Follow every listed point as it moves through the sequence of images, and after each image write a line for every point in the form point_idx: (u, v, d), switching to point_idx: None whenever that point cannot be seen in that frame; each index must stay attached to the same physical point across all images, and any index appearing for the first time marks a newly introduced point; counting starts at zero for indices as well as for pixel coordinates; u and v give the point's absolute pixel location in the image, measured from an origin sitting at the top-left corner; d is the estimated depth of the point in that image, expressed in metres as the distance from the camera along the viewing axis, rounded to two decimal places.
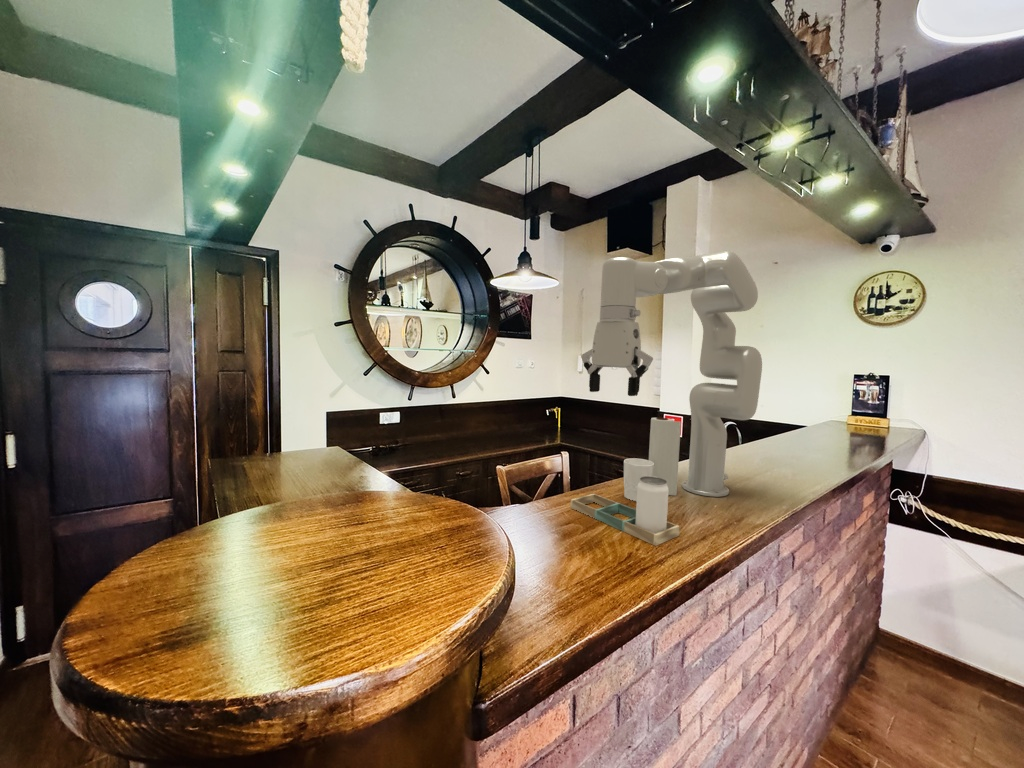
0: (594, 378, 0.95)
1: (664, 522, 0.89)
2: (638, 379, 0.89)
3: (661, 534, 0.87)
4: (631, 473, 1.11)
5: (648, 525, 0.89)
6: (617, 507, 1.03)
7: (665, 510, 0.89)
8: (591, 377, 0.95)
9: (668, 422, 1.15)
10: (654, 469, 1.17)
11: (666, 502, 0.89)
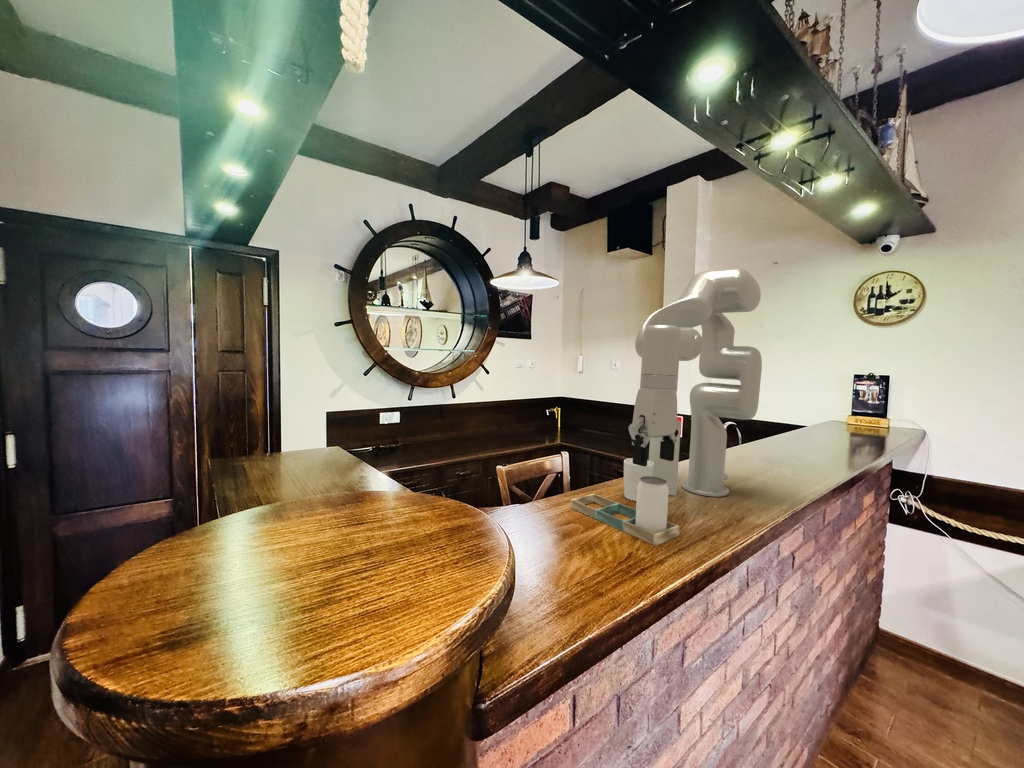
0: None
1: (664, 522, 0.89)
2: None
3: (661, 534, 0.87)
4: (631, 473, 1.11)
5: (648, 525, 0.89)
6: (617, 507, 1.03)
7: (665, 510, 0.89)
8: (647, 450, 0.86)
9: None
10: (654, 469, 1.17)
11: (666, 502, 0.89)
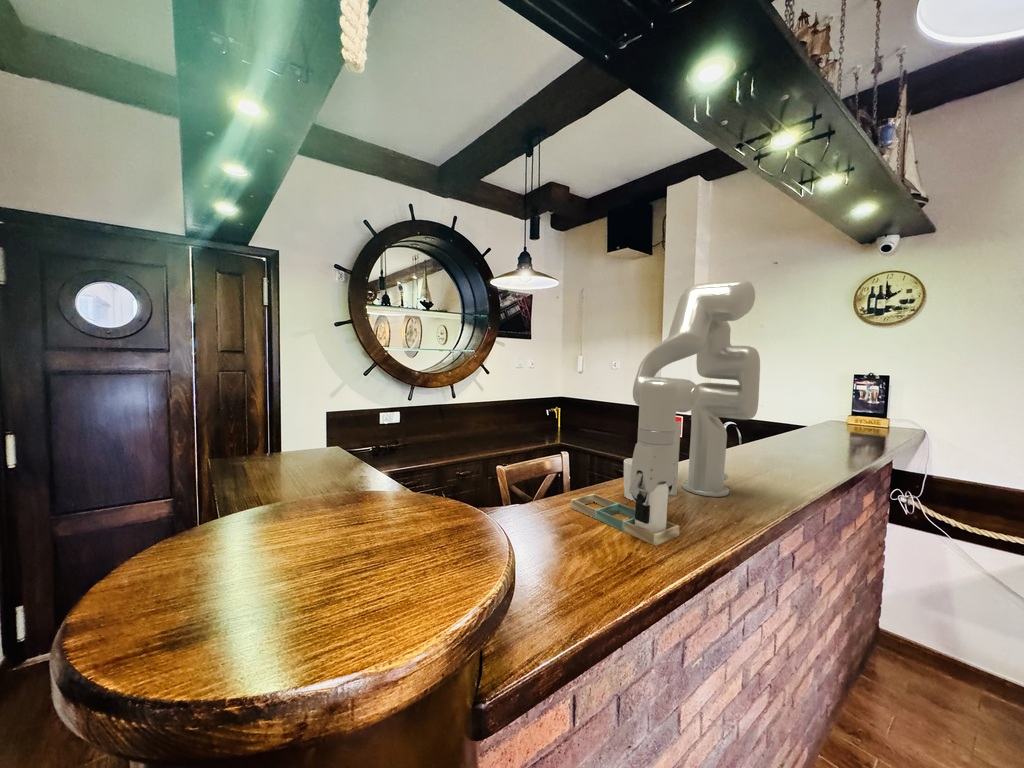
0: None
1: (664, 522, 0.89)
2: None
3: (661, 534, 0.87)
4: None
5: (647, 525, 0.89)
6: (617, 507, 1.03)
7: (665, 510, 0.89)
8: (649, 508, 0.88)
9: None
10: None
11: (666, 502, 0.89)
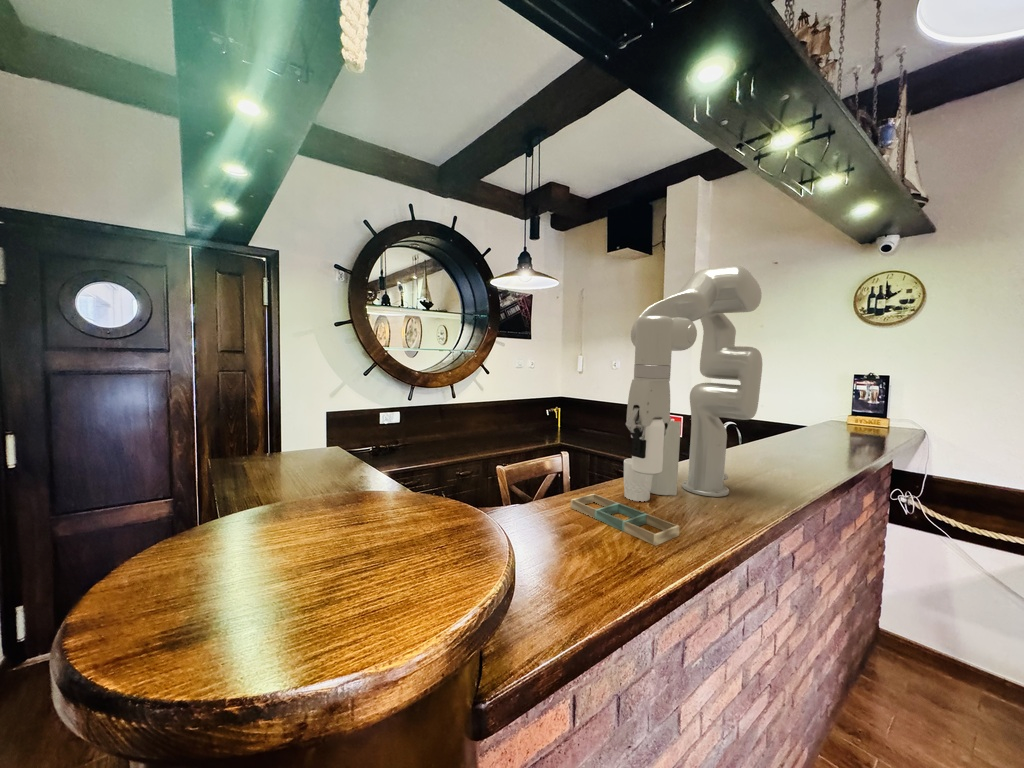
0: None
1: (661, 457, 0.89)
2: None
3: (661, 534, 0.87)
4: (631, 473, 1.11)
5: (645, 460, 0.89)
6: (617, 507, 1.03)
7: (661, 445, 0.89)
8: (645, 443, 0.89)
9: None
10: None
11: (662, 437, 0.89)
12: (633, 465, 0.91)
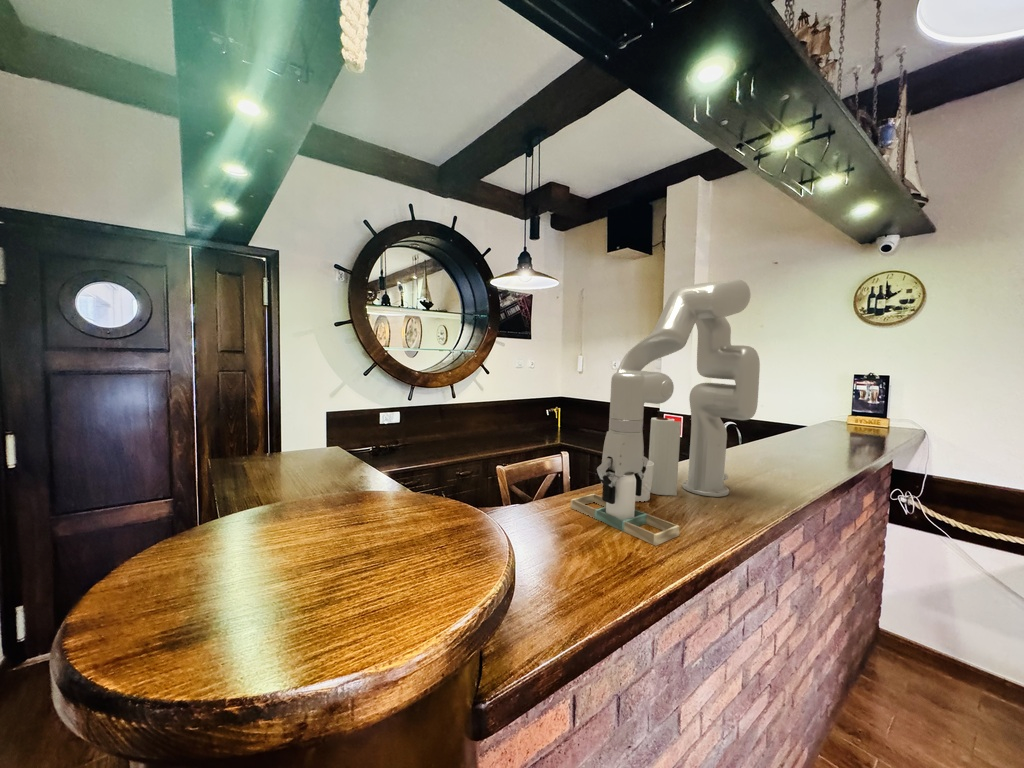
0: None
1: (631, 510, 0.95)
2: None
3: (661, 534, 0.87)
4: None
5: (616, 513, 0.95)
6: None
7: (632, 499, 0.95)
8: (614, 489, 0.93)
9: (668, 422, 1.15)
10: (654, 469, 1.17)
11: (633, 492, 0.95)
12: None
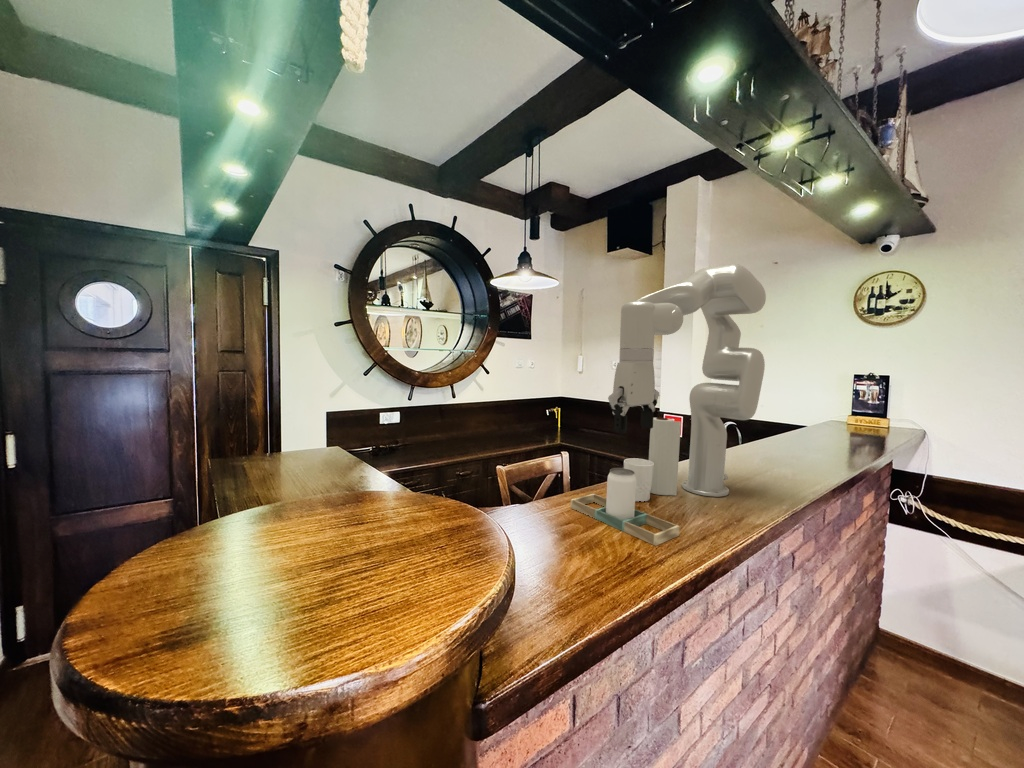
0: None
1: (631, 510, 0.95)
2: None
3: (661, 534, 0.87)
4: None
5: (616, 513, 0.95)
6: None
7: (632, 499, 0.95)
8: (626, 419, 0.93)
9: (668, 422, 1.15)
10: (654, 469, 1.17)
11: (633, 492, 0.95)
12: None
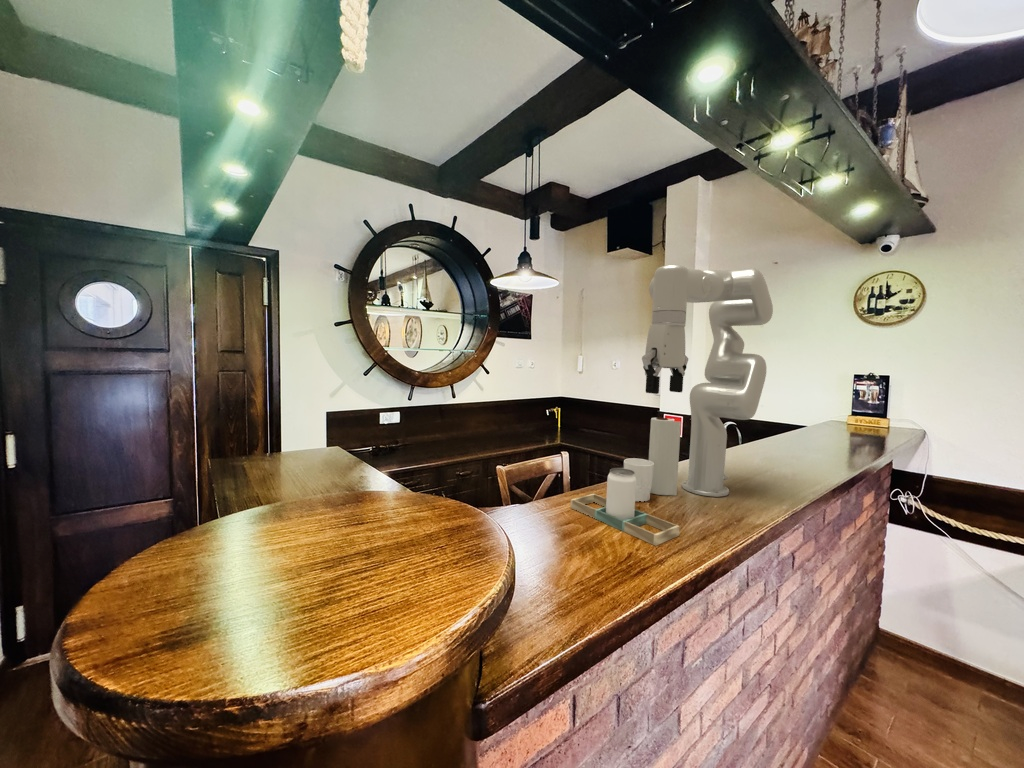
0: None
1: (631, 510, 0.95)
2: None
3: (661, 534, 0.87)
4: None
5: (616, 513, 0.95)
6: None
7: (632, 499, 0.95)
8: (659, 379, 0.95)
9: (668, 422, 1.15)
10: (654, 469, 1.17)
11: (633, 492, 0.95)
12: None
